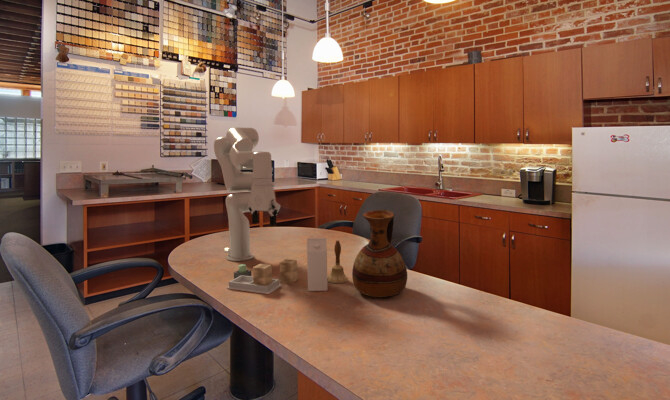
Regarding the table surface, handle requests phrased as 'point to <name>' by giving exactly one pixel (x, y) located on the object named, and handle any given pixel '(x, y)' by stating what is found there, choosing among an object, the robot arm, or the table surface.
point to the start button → (242, 268)
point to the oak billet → (288, 271)
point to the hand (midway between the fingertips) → (264, 224)
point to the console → (247, 273)
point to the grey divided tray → (252, 285)
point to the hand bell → (337, 268)
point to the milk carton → (317, 264)
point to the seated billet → (262, 274)
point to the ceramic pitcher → (379, 259)
